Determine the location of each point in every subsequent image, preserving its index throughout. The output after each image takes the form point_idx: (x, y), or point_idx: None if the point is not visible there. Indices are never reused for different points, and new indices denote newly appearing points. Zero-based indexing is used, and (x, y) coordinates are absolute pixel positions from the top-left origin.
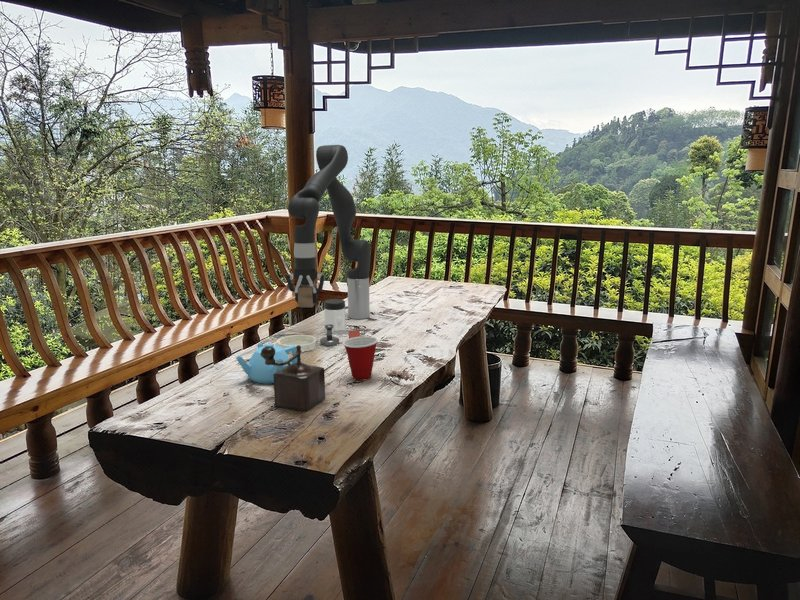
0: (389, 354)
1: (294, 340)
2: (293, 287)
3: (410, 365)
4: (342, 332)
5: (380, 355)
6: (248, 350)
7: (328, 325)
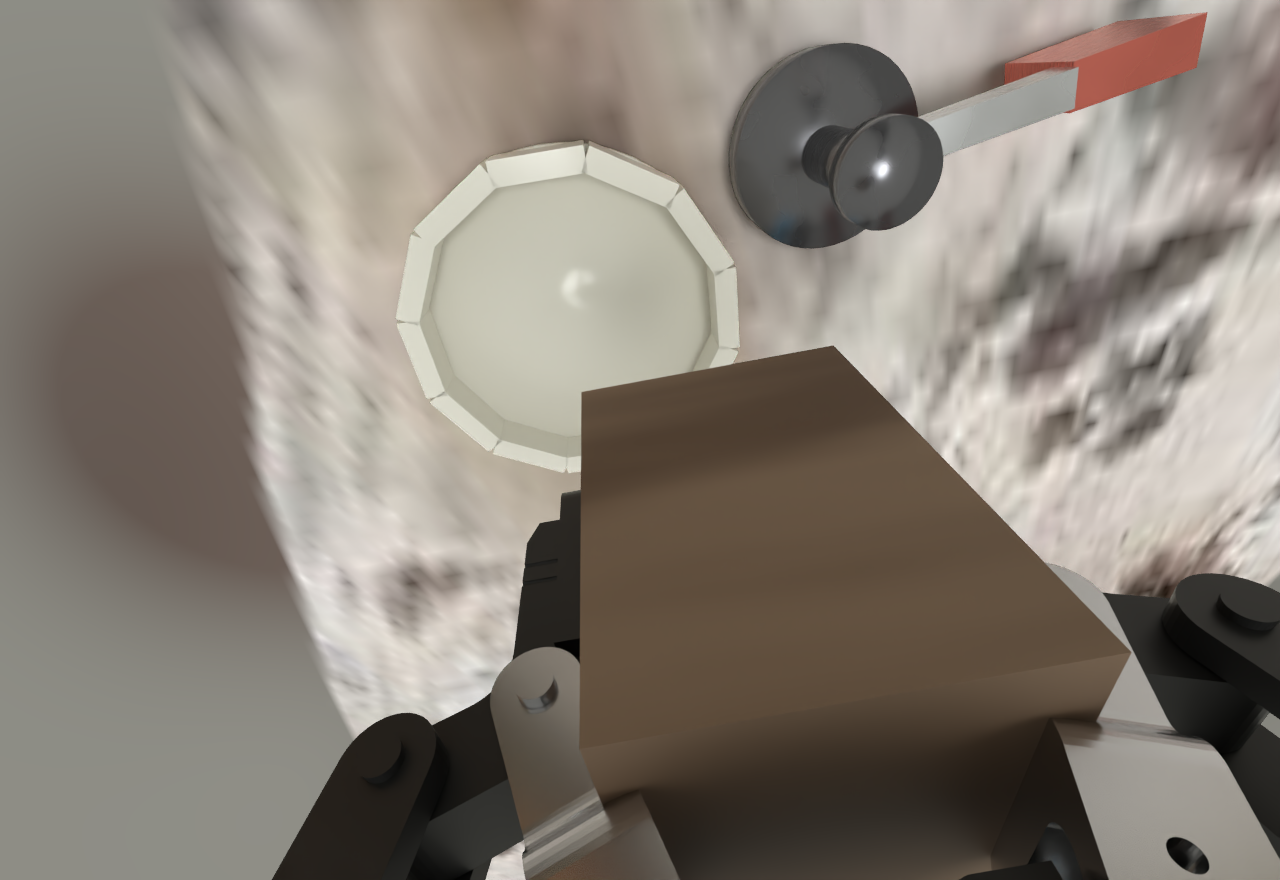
0: (1237, 332)
1: (489, 194)
2: (445, 832)
3: (1277, 477)
4: (994, 133)
5: (1171, 362)
6: (272, 448)
7: (882, 174)
